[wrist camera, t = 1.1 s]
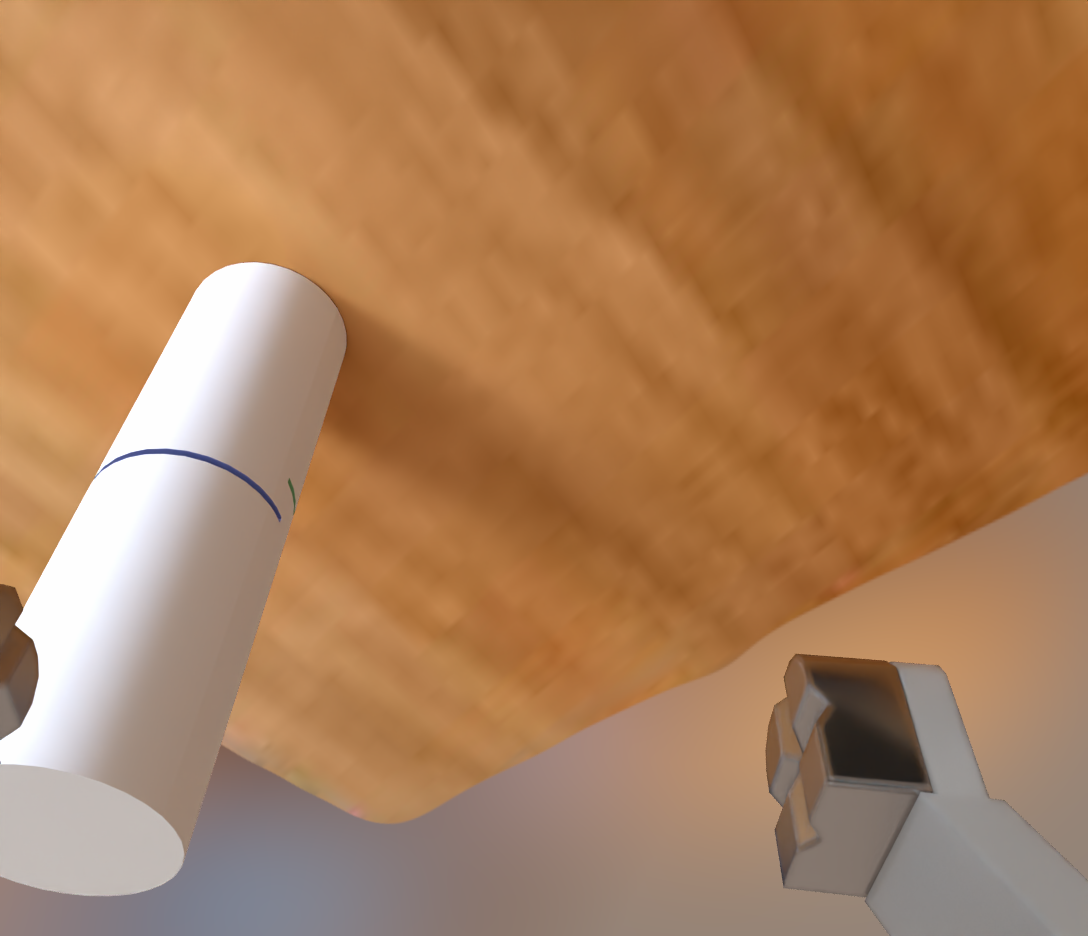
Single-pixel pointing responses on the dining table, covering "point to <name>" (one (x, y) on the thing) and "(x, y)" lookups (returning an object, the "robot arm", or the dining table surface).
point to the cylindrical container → (166, 588)
